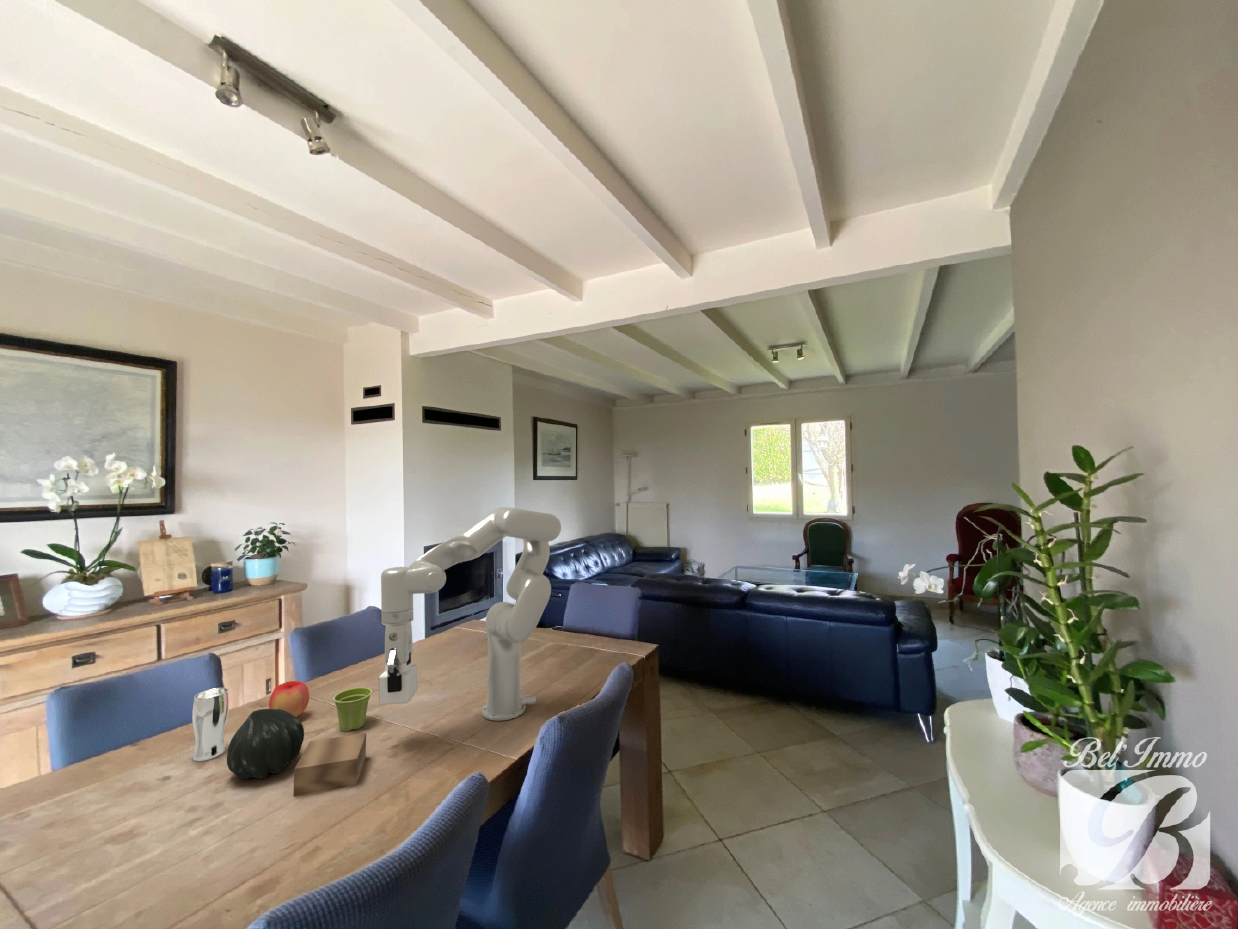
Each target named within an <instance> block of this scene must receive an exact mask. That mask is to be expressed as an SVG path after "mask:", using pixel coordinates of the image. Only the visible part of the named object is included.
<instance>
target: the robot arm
mask: <svg viewBox="0 0 1238 929" xmlns="http://www.w3.org/2000/svg"><path fill="white" fill-rule="evenodd" d="M561 532H562V524H561V521H560V519H559V518H558V517H557V516H556V515H554V514H552V513H547V512H541V511H532V510H528V509H527V510H526V509H523V508H518V507H507V506H503V507H502V506H501V507H498V508H496V509H494V510H492V511H490V512H489V513H487V514H486V515H484V516H483V517H481V519H479V520H478V521H477V522H475V523H473V525H471V526H470V527H468V528H467V529H465V530H464V531H462V532H461V533H459V534H457V535H455V536H452V537H451V538H449V539H448V540H445V541H443V542H442V543H440V544H438V545H436V546H434V547H433V548H431V549H429V550H428V551H427V552H426V553H423V554H422V555H421V556H420V557H418V558H417V559H416V560H414V561H413V562H411V564H410V565H409V566H394V567H390V568H386V569H384V570H382V572H381V574H380V586H381V588H380V593H381V594H380V595H381V596H380V598H381V600H380V602H381V604H380V605H381V607H380V608H381V625H382V626H385V632H384V660H385V662H384V663H386V665H388V674H387V688H388V693H391V692H399V691H401V690H402V674H400V671H401V663H403V664H405V663H406V662H407V661H408V659H409V653H410V652H411V655H412V654H413V651H414V644H413V643H414V642H413V626H412V622H413V621H414V595H417V594H420V595H421V594H433V593H436V592H438V591H440V590H441V589H443V587H444V586H445V584H446V582H447V575H446V572H445V570H447V569H449V568H451V567H453V566H455V565H457V564H460V563H463V562H468V561H472V560H474V559H477V558H480V557H481V556H482V555H483V554H485V553H486V552H488V550H490V549H491V548H492V547H494V546H495V545H496V544H497V543H499V542H500V541H502V540H503V539H505V538H506V537H508V538H509V537H510V538H515V539H521V540H523V550H522V553H521V555H520V557H519V560H518V561H517V563H516V566H515V567H514V570H513V571H512V573H511V574H510V577H509V578H508V581H507V584H506V586H505V587H506V593H507V595H508V596H509V597H510V598H511V599H512V600H514V601H515V602H514V603H511V602H506V601H499V602H496V603H495V604H493V605H492V606H491V607H489V609H488V611H487V613H486V617H485V630H486V639H487V691H486V692H487V694H486V695H487V696H486V700H487V702H486V704H484V705H483V707H482V708H481V715H482V717H483V718H485V719H487V720H490V721H495V722H496V721H497V722H498V721H507V720H513V719H515V718H517V717H520V716H521V715H523V714H524V713H525V711H526V705H535V704H536V702H537V701H536V700H537V699H536V698H537V697H536V696H532V694H522V689H521V666H522V665H521V662H522V660H521V658H522V657H521V654H522V653H521V652H522V651H521V650H522V648H521V643H524V642H526V641H527V640H528V639H529V638H530V637H531V636H532V635H533V633H534V632H535V629H536V628H537V625H538V624H539V622H540V620H541V617H542V615H543V613H544V611H545V609H546V607H547V605H548V603H549V600H550V598H551V594H552V585H551V582H550V580H549V578H548V577H547V576H546V575H544V572H545V569H546V568H547V565H548V562H549V559H550V554H551V551H550V544H549V542H552V541H554V540H556V539H557V538H558V537H559V536H560V533H561ZM388 660H389V661H388ZM395 660H399V662H395ZM395 666H398V668H396V667H395ZM519 715H520V716H519ZM512 718H513V719H512Z"/></svg>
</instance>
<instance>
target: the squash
mask: <svg viewBox="0 0 1238 929" xmlns="http://www.w3.org/2000/svg"><path fill="white" fill-rule="evenodd" d="M236 730H237V731H236V732H235V733H234V735H233V736H232V737H231V739H230V742H229V744H228V747H227V752H226V766H227V768H228V770H229V771H230V772H231V773H233V775H235V776H236V777H237V778H238V779H241V780H242V779H251V778H255V779H260V780H261V779H264V778H266V777H267V776H268V775H269V774H270V773H272V774H279V773H281V772H283V770H285V768H286V767H287V765H288V763H291V762H293V761H294V760H295V759H297V757H298V756H299V755H300V752H301V749H302V746H303V744H304V743H303V742H304V741H305V740H304V739H305V727H304V724H302V722H301V719H299V718H298V717H295V716H293V715H292V714H291V713H289V712H287V711H284V710H281V709H269V708H261V709H257V710H253V711H252V712H251V713H250V714H249V715H248V716H247V718H246V719H245V721H244V722H243V724H242V725H241V726H240V727H239V728H238V729H236Z"/></svg>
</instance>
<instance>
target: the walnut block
mask: <svg viewBox="0 0 1238 929" xmlns="http://www.w3.org/2000/svg"><path fill="white" fill-rule="evenodd" d="M366 750H367V732H364V733H363V732H362V733H357V734H351V735H343V736H335V737H329V738H323V739H317V740H311V741H309V743H308V745H307V746H306V748H305V749H304V751H303V753H302V755H301V756H300V758H299V760H298V762H297V763H296V765H295V767H294V769H293V771H294V772H293V773H294V774H293V797H298V796H303V795H309V794H314V793H319V792H326V791H331V790H337V789H342V788H348V787H354V786H357V785H358V780H359V777H360V774H361V773H362V770H363V766H364V763H365V760H366V755H367V753H366V752H367V751H366Z"/></svg>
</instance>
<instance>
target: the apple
mask: <svg viewBox="0 0 1238 929" xmlns="http://www.w3.org/2000/svg"><path fill="white" fill-rule="evenodd" d="M309 701H310V690H309V688H308V686H307V685H306V684H305V683H304V682H301V681H299V680H291V681H285V682H283V683H281V684H280V683H279V685H276V687H274V689H273V691H272V692H271V695H270V696H269V702H268V709H281V710H284V711H287V712H289V713H291V714H292V715H293V716H295V717H297V718H298V717H299V716H301V715H302V714H303V712H305V710H306V709H307V707H308V705H309Z"/></svg>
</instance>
